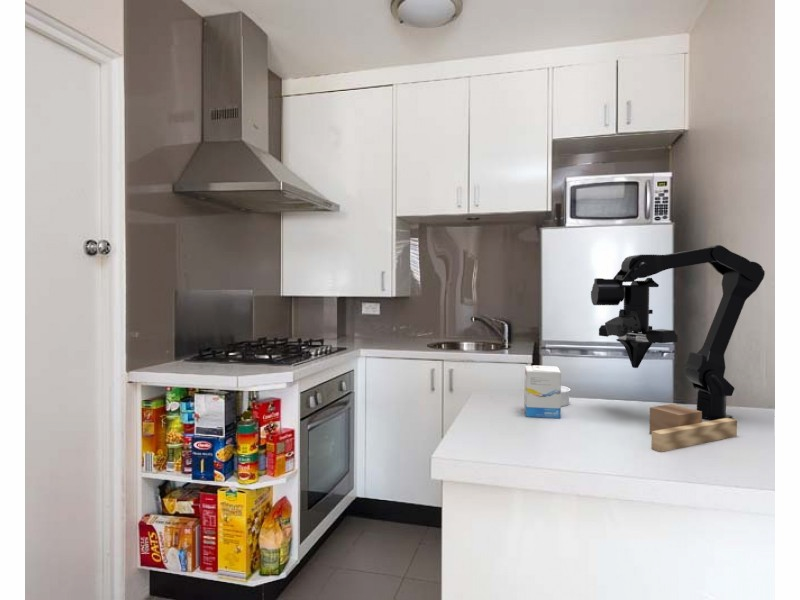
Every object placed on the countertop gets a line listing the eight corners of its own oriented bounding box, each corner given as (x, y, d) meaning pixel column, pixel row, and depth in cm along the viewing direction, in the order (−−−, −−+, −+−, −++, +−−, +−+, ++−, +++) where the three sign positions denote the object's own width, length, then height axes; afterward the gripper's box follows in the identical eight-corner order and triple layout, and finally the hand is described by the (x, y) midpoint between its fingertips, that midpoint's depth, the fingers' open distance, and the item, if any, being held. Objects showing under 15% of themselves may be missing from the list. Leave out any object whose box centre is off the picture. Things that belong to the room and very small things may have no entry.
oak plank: (727, 433, 107) (727, 417, 107) (736, 436, 105) (737, 420, 105) (651, 448, 97) (651, 431, 97) (660, 451, 95) (660, 434, 95)
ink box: (561, 419, 118) (561, 371, 118) (525, 417, 120) (526, 370, 120) (557, 409, 127) (557, 365, 126) (523, 408, 128) (524, 364, 128)
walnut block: (671, 430, 109) (671, 404, 109) (701, 439, 103) (701, 411, 103) (649, 434, 107) (649, 407, 106) (679, 443, 100) (679, 415, 100)
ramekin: (571, 408, 128) (571, 392, 128) (536, 406, 131) (536, 390, 131) (569, 400, 137) (569, 385, 137) (536, 398, 139) (536, 383, 139)
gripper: (583, 304, 126) (582, 364, 126) (646, 307, 109) (645, 376, 109) (614, 303, 130) (613, 361, 131) (679, 306, 113) (678, 373, 114)
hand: (635, 367), depth 121 cm, fingers closed
